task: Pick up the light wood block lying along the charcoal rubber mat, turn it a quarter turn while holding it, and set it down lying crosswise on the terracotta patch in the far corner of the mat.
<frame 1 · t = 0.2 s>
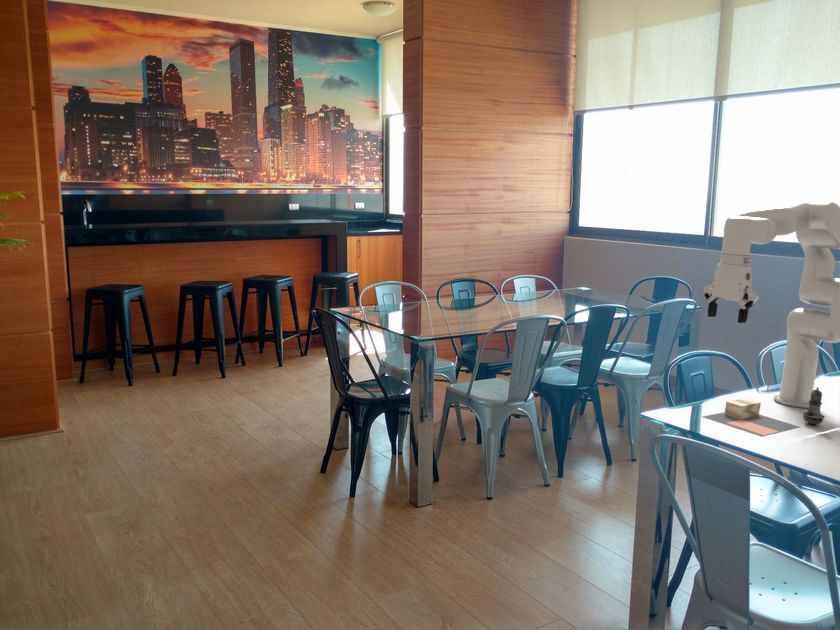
hand: (726, 319, 210), 30 cm above the table, tool pointing down, fingers open, 9 cm apart
light wood block: (741, 414, 220), point 1 cm above the table, touching mat
dark grey tower figurine: (811, 427, 214), on the table
mat: (750, 423, 213), on the table
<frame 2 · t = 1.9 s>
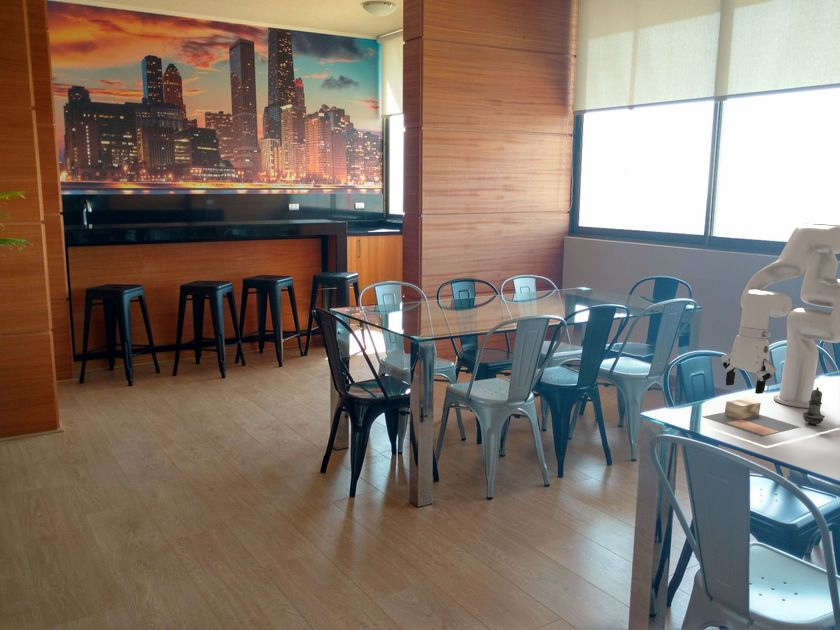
hand: (744, 389, 218), 9 cm above the table, tool pointing down, fingers open, 9 cm apart
nothing on the table moved.
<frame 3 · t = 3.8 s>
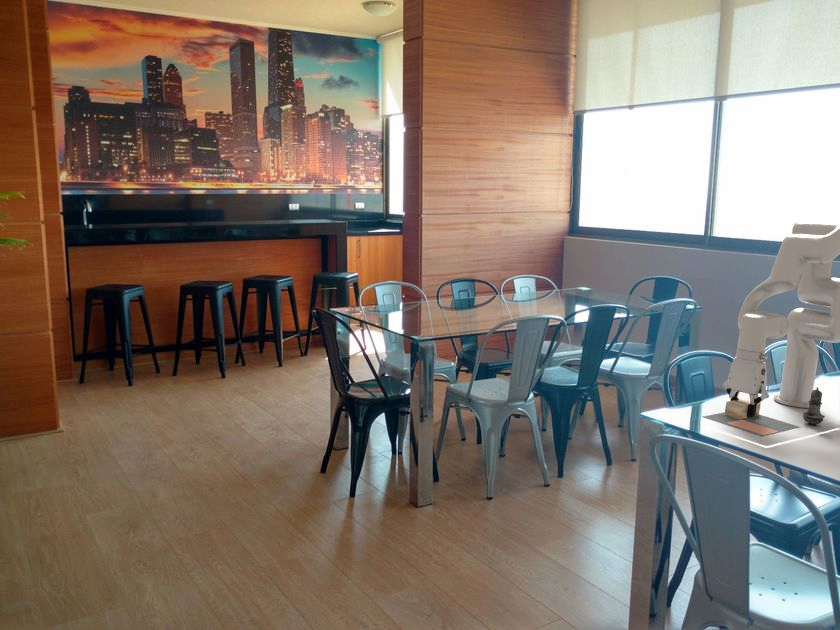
hand: (742, 413, 220), 1 cm above the table, tool pointing down, fingers closed on light wood block, 5 cm apart
light wood block: (741, 414, 220), point 1 cm above the table, touching gripper, mat
everything else where it was.
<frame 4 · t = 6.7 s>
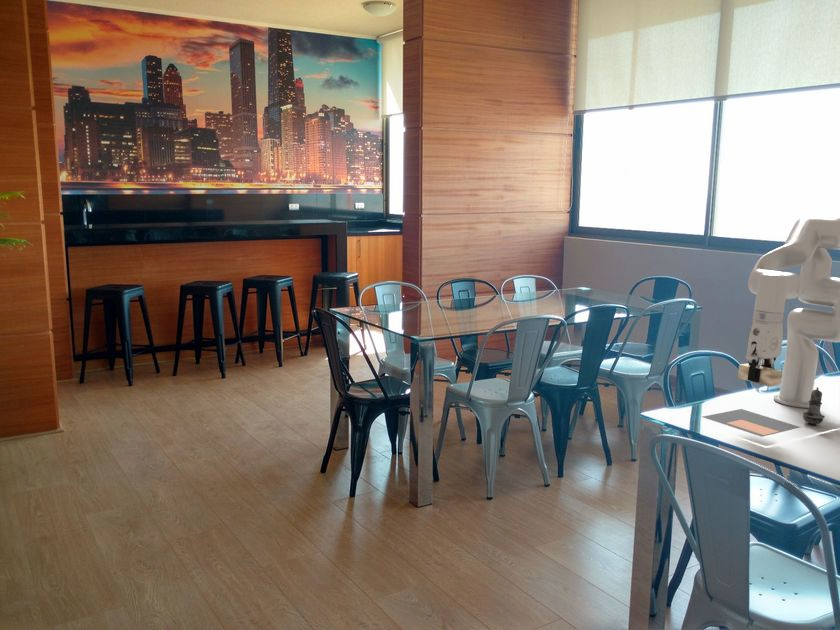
hand: (759, 379, 206), 15 cm above the table, tool pointing down, fingers closed on light wood block, 5 cm apart
light wood block: (758, 381, 206), point 14 cm above the table, touching gripper
everything else where it was.
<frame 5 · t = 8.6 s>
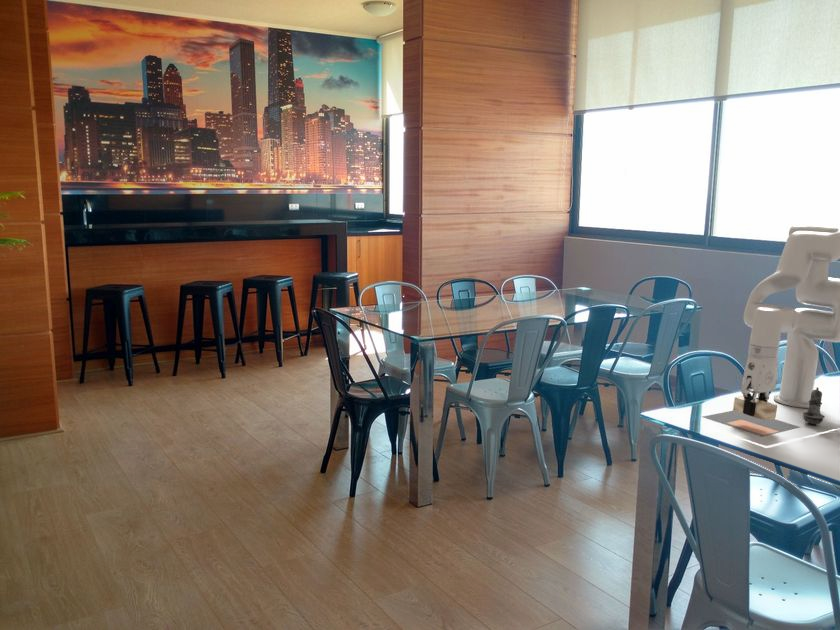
hand: (754, 412, 207), 5 cm above the table, tool pointing down, fingers closed on light wood block, 5 cm apart
light wood block: (753, 414, 207), point 4 cm above the table, touching gripper
everything else where it was.
when the fingers open (3 cm above the table, at t = 10.1 s): light wood block drops 1 cm, resting on mat.
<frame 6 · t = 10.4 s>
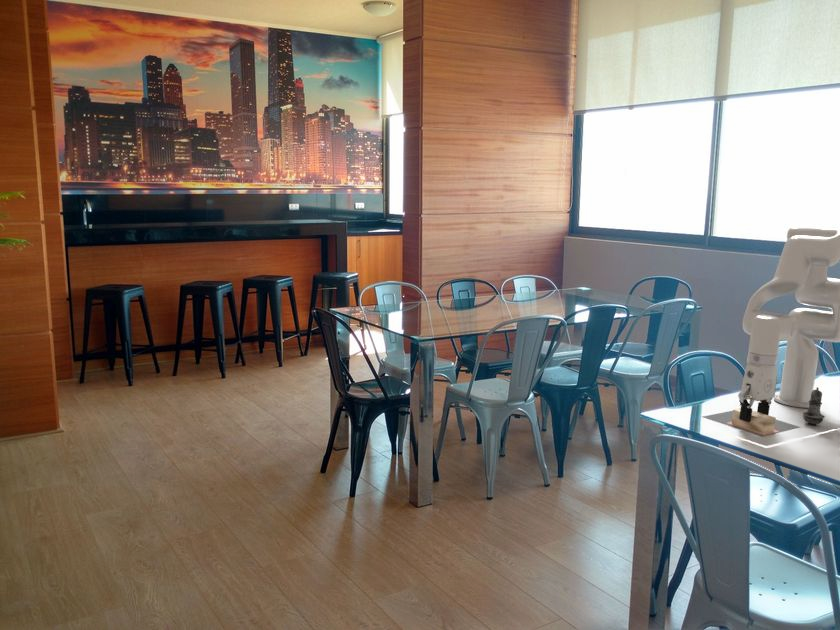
hand: (753, 418, 208), 3 cm above the table, tool pointing down, fingers open, 8 cm apart
light wood block: (752, 427, 208), point 1 cm above the table, touching mat
everything else where it was.
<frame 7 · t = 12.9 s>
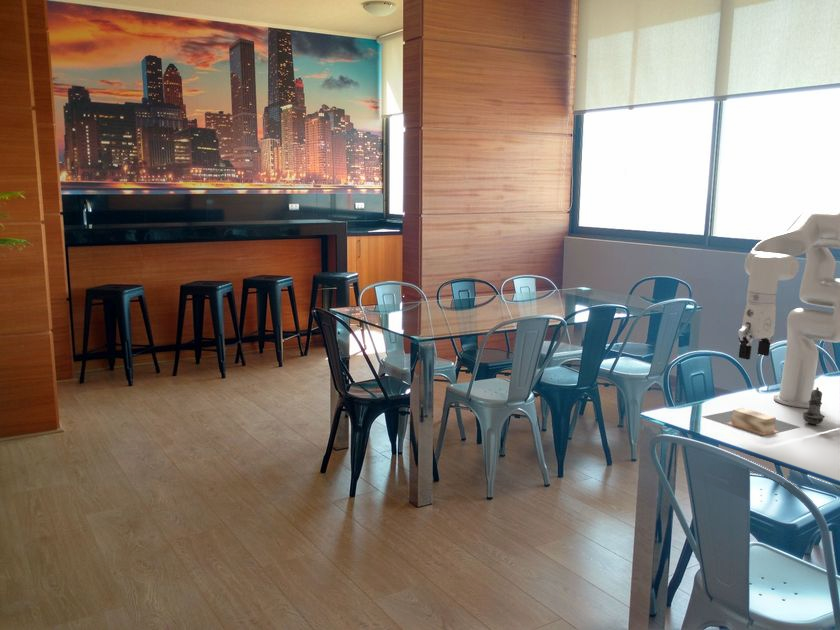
hand: (753, 356, 210), 20 cm above the table, tool pointing down, fingers open, 9 cm apart
nothing on the table moved.
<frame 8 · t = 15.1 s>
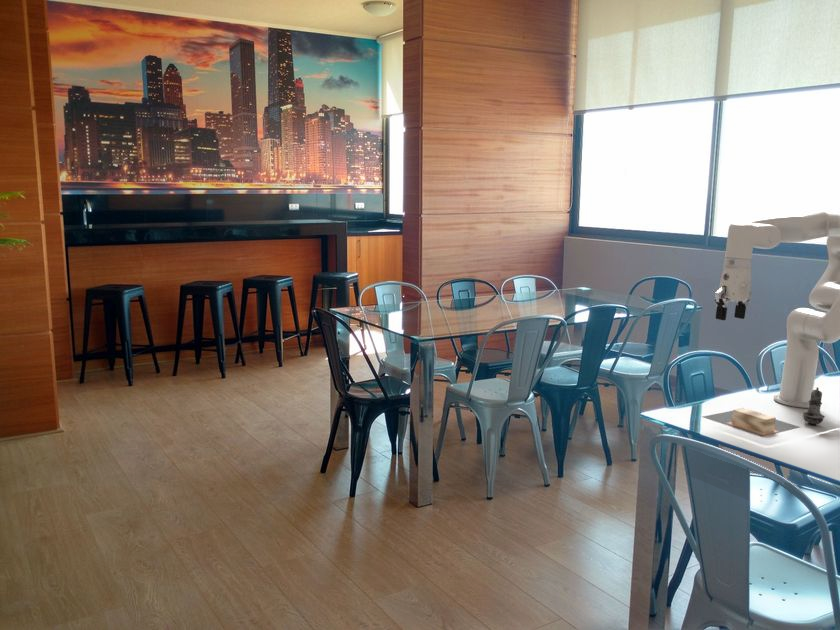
hand: (729, 318, 225), 28 cm above the table, tool pointing down, fingers open, 9 cm apart
nothing on the table moved.
at the end: light wood block 0.1 cm from the target spot, point 0.6 cm above the table; light wood block tilted 0°; the gripper is holding nothing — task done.
